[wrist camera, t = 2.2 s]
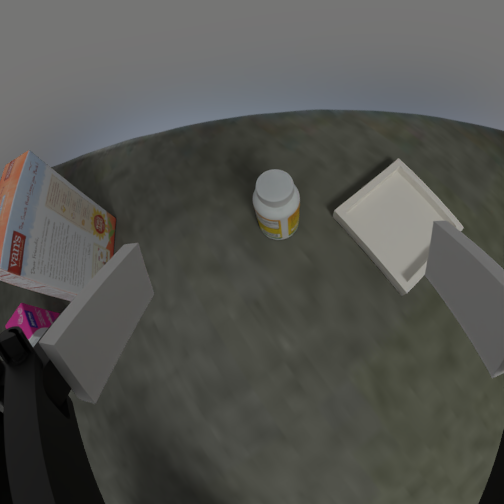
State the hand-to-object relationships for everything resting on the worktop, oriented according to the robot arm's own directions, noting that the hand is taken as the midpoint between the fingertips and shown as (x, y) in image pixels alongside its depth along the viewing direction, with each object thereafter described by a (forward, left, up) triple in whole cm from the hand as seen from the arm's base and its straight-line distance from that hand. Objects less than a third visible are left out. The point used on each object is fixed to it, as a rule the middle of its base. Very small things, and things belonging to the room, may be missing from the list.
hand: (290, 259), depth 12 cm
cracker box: (+19, -24, -24) cm, 38 cm away
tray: (-19, 0, -24) cm, 31 cm away
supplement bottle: (-6, -11, -24) cm, 27 cm away
